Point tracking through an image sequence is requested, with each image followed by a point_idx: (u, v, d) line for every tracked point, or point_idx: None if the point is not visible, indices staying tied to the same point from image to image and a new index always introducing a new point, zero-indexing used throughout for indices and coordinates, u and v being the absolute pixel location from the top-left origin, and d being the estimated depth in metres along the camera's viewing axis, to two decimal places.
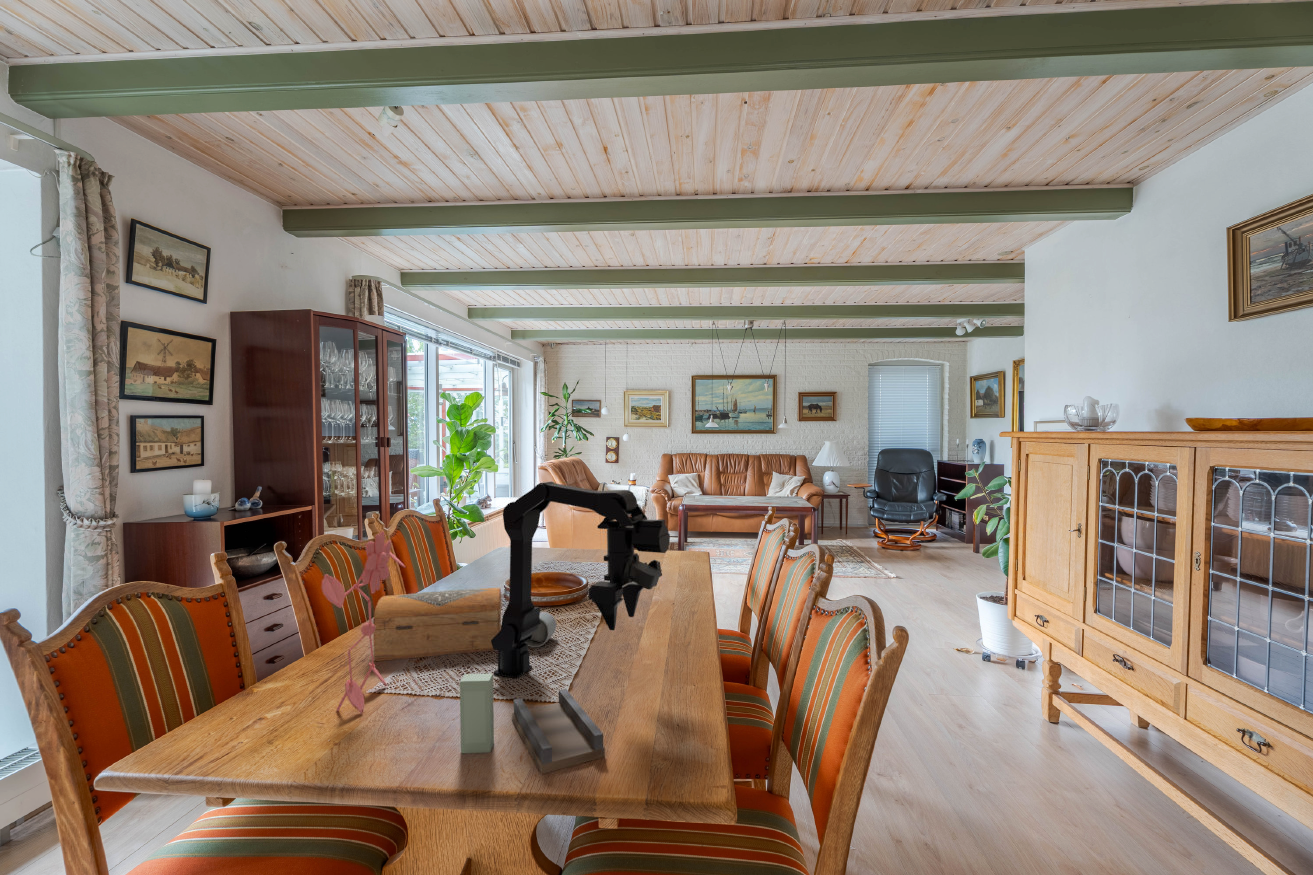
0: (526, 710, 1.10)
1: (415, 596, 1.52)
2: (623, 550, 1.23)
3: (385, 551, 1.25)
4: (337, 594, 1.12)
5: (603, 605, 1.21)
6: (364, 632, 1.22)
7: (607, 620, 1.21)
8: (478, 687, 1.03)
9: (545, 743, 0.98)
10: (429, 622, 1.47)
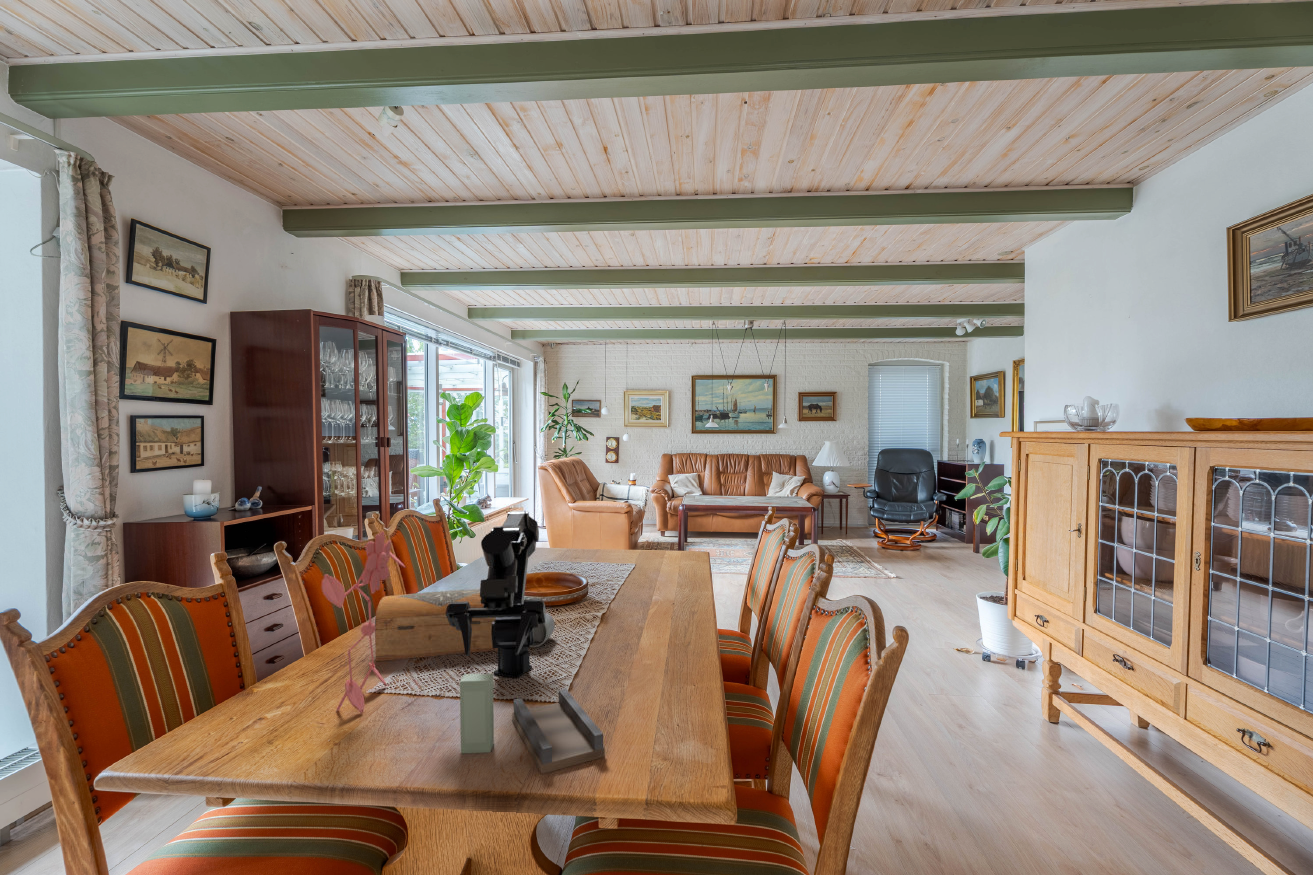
0: (526, 710, 1.10)
1: (417, 596, 1.52)
2: (489, 575, 1.22)
3: (385, 551, 1.25)
4: (337, 594, 1.12)
5: None
6: (364, 632, 1.22)
7: None
8: (478, 687, 1.03)
9: (545, 743, 0.98)
10: (430, 622, 1.47)
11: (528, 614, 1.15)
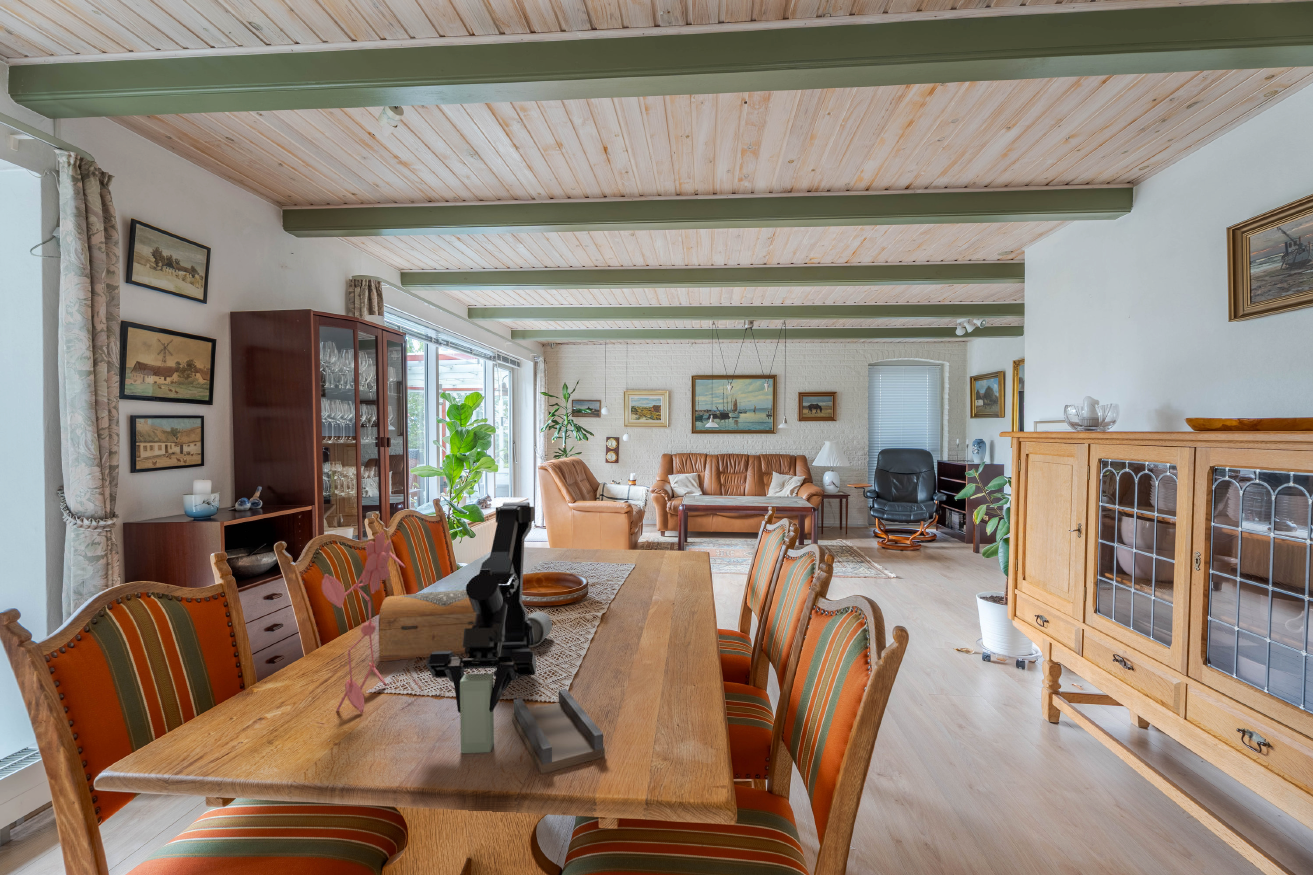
0: (526, 710, 1.10)
1: (420, 596, 1.52)
2: (475, 620, 1.13)
3: (385, 551, 1.25)
4: (337, 594, 1.12)
5: None
6: (364, 632, 1.22)
7: None
8: (478, 687, 1.03)
9: (545, 743, 0.98)
10: (434, 622, 1.47)
11: (504, 666, 1.06)
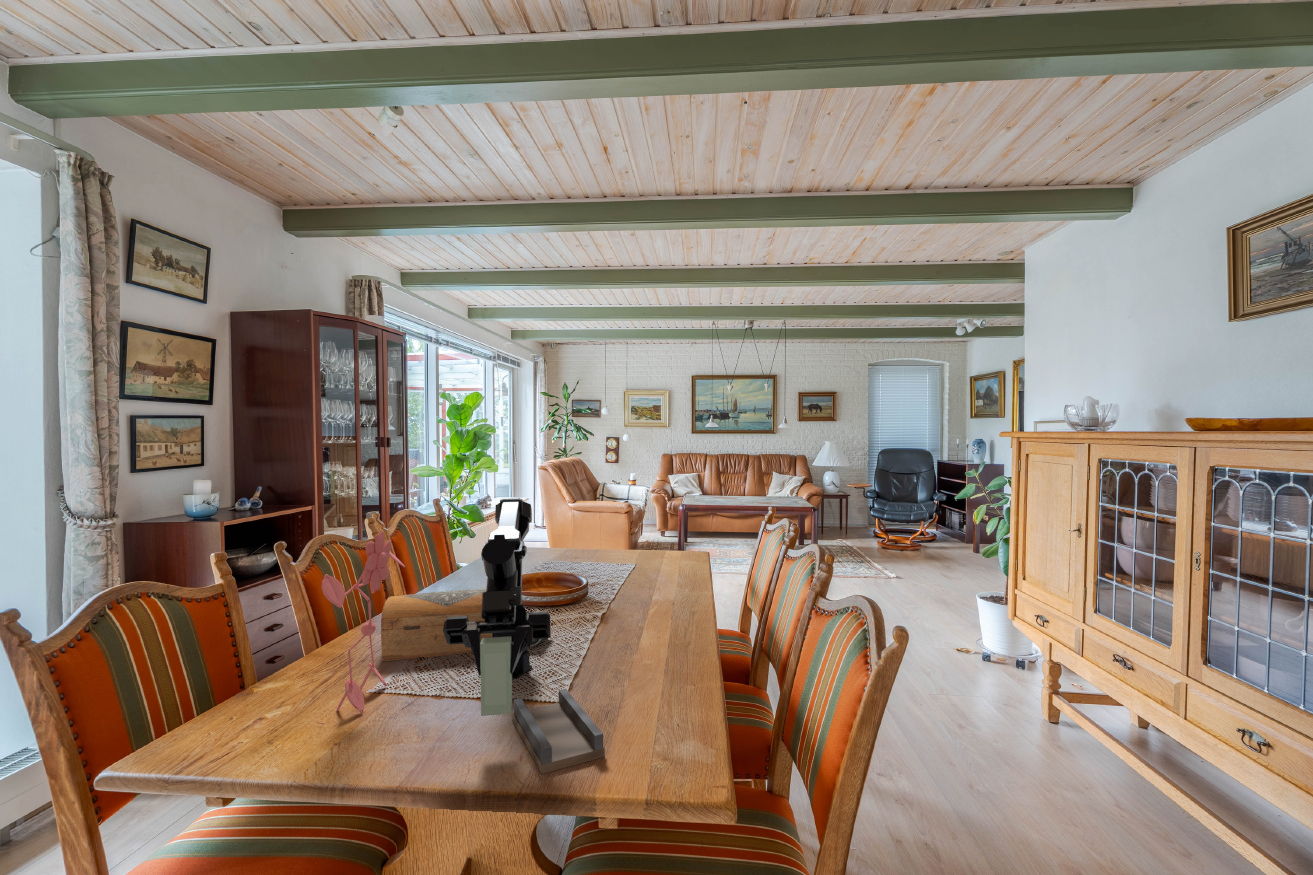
0: (526, 710, 1.10)
1: (422, 596, 1.52)
2: (488, 587, 1.12)
3: (385, 551, 1.25)
4: (337, 594, 1.12)
5: None
6: (364, 632, 1.22)
7: None
8: (499, 649, 1.03)
9: (545, 743, 0.98)
10: (436, 622, 1.47)
11: (523, 629, 1.06)
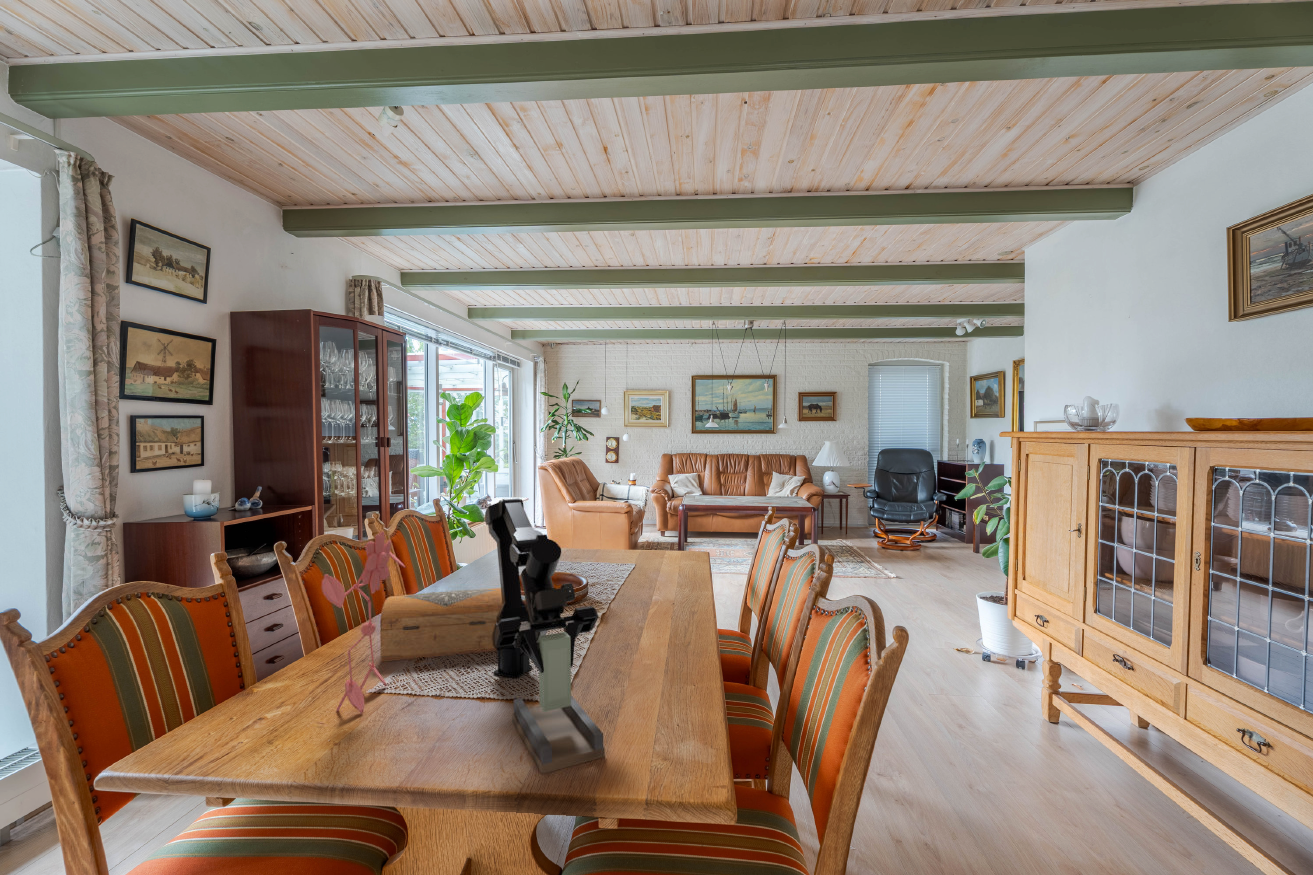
0: (526, 710, 1.10)
1: (421, 596, 1.52)
2: (529, 587, 1.14)
3: (385, 551, 1.25)
4: (337, 594, 1.12)
5: (527, 648, 1.08)
6: (364, 632, 1.22)
7: (535, 662, 1.06)
8: (560, 644, 1.06)
9: (545, 743, 0.98)
10: (436, 623, 1.47)
11: (576, 623, 1.11)
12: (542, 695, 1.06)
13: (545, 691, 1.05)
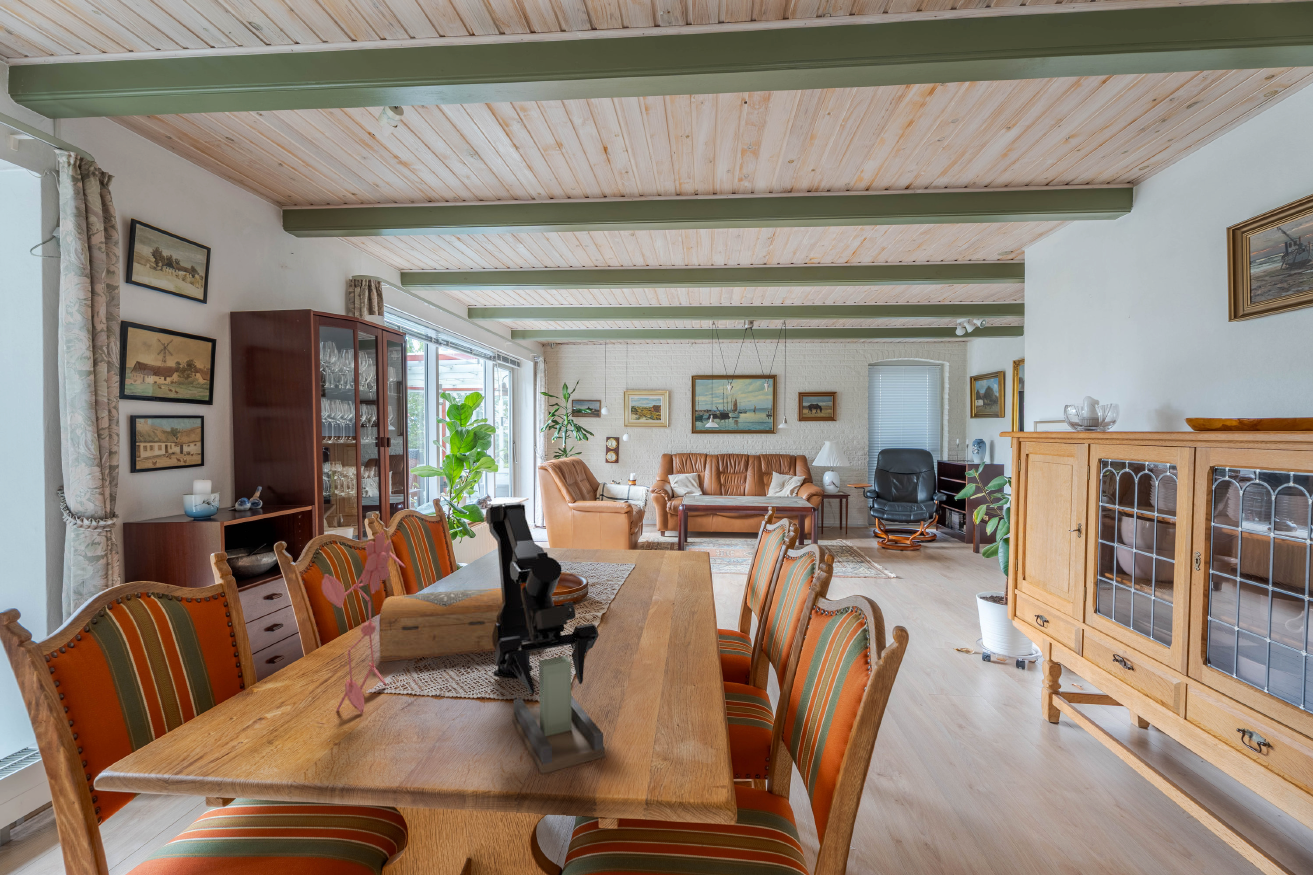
0: (526, 710, 1.10)
1: (421, 596, 1.52)
2: (529, 605, 1.14)
3: (385, 551, 1.25)
4: (337, 594, 1.12)
5: (517, 668, 1.08)
6: (364, 632, 1.22)
7: (525, 683, 1.05)
8: (561, 669, 1.06)
9: (545, 743, 0.98)
10: (435, 623, 1.47)
11: (585, 640, 1.11)
12: (542, 720, 1.06)
13: (545, 716, 1.05)
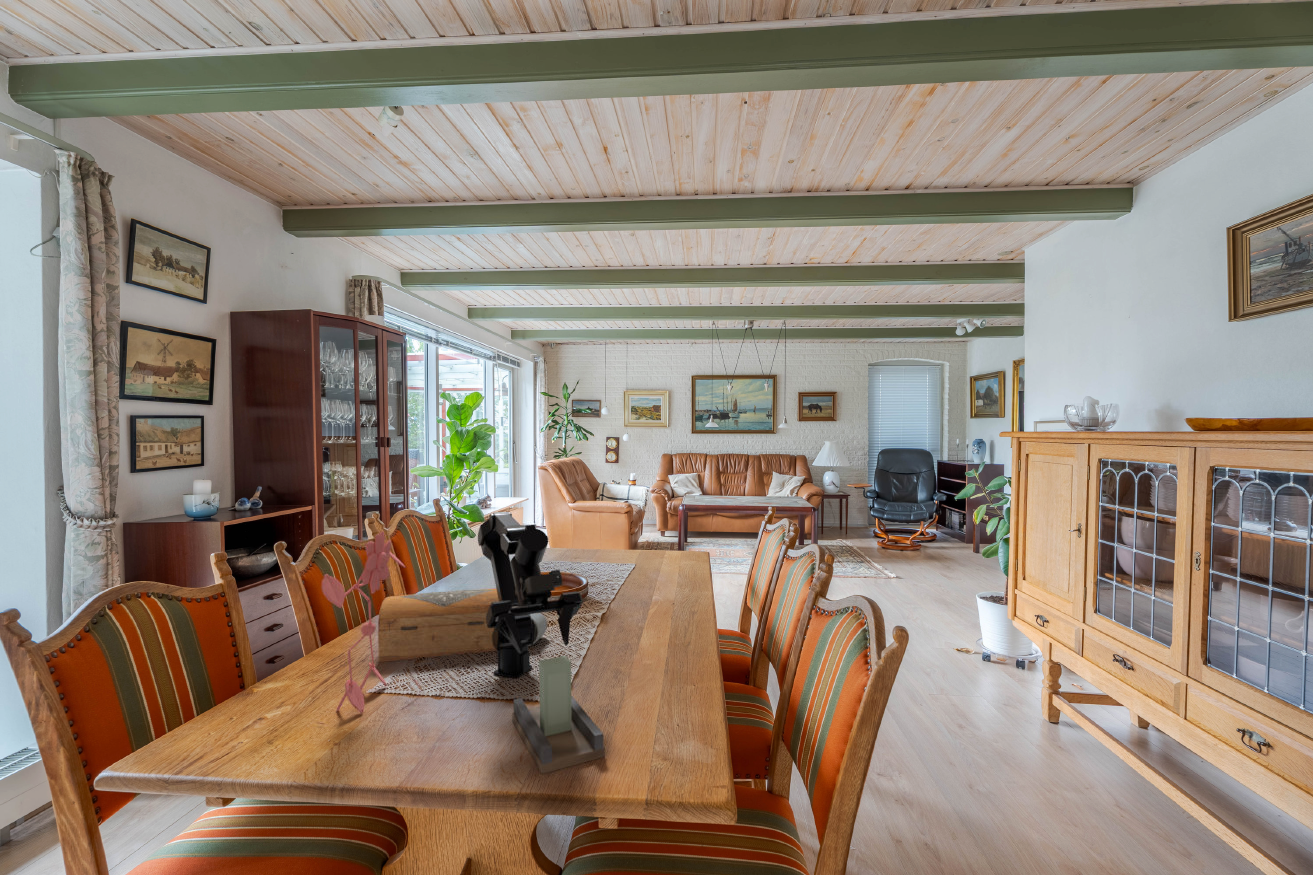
0: (526, 710, 1.10)
1: (420, 596, 1.52)
2: (518, 573, 1.22)
3: (385, 551, 1.25)
4: (337, 594, 1.12)
5: (507, 630, 1.16)
6: (364, 632, 1.22)
7: (514, 644, 1.14)
8: (561, 669, 1.06)
9: (545, 743, 0.98)
10: (434, 623, 1.47)
11: (571, 606, 1.20)
12: (542, 720, 1.06)
13: (545, 716, 1.05)
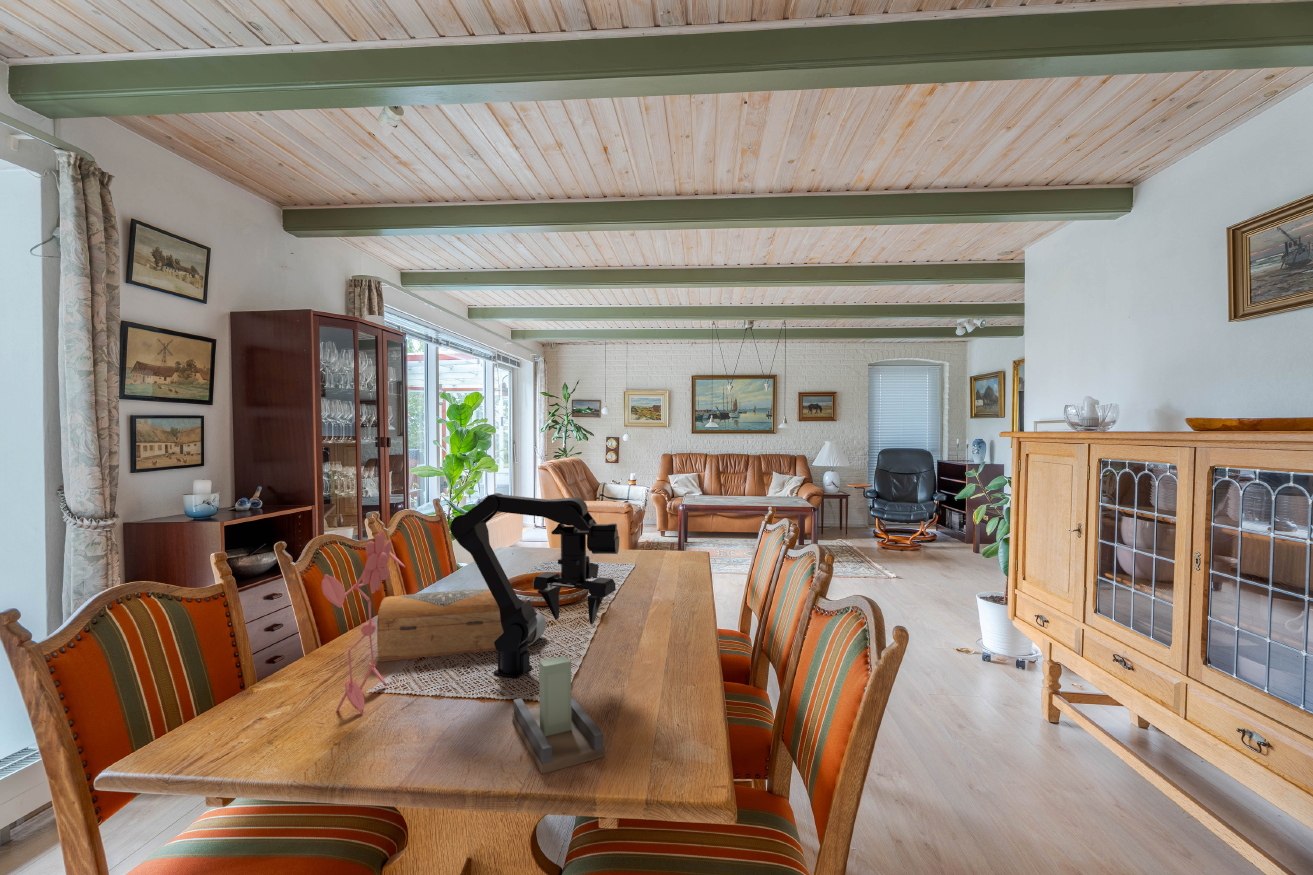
0: (526, 710, 1.10)
1: (418, 596, 1.52)
2: (578, 553, 1.33)
3: (385, 551, 1.25)
4: (337, 594, 1.12)
5: None
6: (364, 632, 1.22)
7: (593, 615, 1.33)
8: (561, 669, 1.06)
9: (545, 743, 0.98)
10: (433, 623, 1.47)
11: None
12: (542, 720, 1.06)
13: (545, 716, 1.05)
